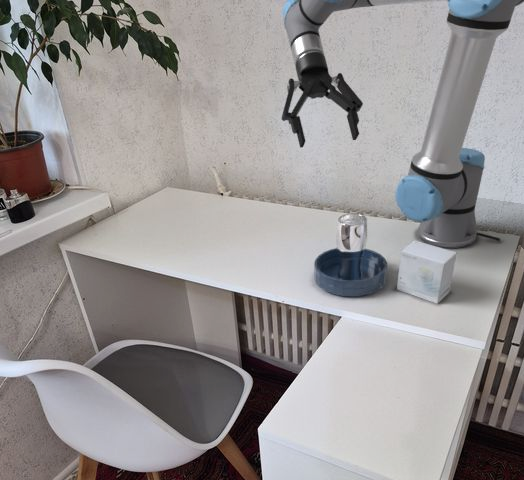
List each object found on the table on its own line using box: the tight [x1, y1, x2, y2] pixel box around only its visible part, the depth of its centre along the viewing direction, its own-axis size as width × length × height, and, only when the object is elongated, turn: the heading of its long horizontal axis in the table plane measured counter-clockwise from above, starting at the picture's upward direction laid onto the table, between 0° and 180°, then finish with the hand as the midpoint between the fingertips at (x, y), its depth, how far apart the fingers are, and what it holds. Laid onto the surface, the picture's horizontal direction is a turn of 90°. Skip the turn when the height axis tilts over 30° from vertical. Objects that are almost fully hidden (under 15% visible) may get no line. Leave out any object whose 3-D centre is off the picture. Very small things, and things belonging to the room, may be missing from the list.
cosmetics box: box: [396, 240, 458, 304], centre depth 115 cm, size 10×6×10 cm, turn 48°
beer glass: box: [336, 213, 368, 280], centre depth 120 cm, size 7×7×15 cm
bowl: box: [313, 247, 388, 297], centre depth 123 cm, size 17×17×4 cm
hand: (329, 140), depth 123 cm, fingers open, 13 cm apart
